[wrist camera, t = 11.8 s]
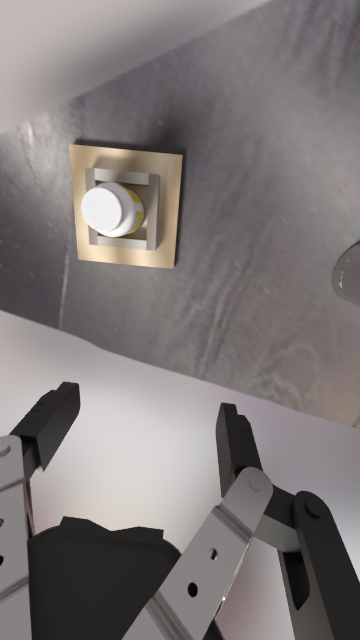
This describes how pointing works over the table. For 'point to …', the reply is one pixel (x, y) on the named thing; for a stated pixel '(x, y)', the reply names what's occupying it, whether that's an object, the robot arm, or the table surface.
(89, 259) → the socket stand
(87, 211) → the supplement bottle
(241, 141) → the table surface
